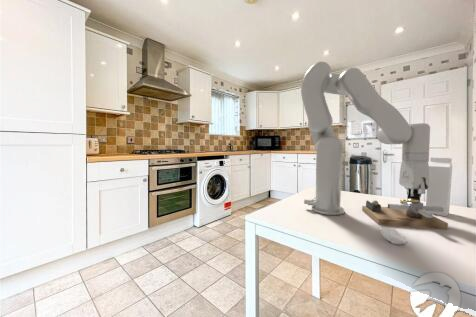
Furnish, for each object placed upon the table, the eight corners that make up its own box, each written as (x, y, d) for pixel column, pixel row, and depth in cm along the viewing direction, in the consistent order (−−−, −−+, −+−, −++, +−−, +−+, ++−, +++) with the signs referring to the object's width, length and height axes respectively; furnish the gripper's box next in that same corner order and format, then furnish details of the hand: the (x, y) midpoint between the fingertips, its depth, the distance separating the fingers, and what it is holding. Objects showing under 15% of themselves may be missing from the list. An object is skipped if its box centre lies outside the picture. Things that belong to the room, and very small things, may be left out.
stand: (378, 224, 71) (379, 207, 70) (362, 210, 85) (362, 196, 85) (447, 229, 67) (448, 211, 66) (417, 213, 81) (418, 198, 81)
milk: (446, 216, 78) (450, 158, 76) (425, 212, 83) (428, 157, 81) (449, 213, 81) (453, 157, 80) (428, 209, 86) (432, 157, 84)
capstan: (460, 227, 63) (461, 209, 62) (400, 223, 66) (400, 205, 66) (426, 210, 78) (427, 195, 78) (378, 208, 82) (379, 193, 81)
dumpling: (374, 238, 61) (375, 225, 61) (387, 235, 63) (388, 223, 62) (399, 250, 54) (400, 235, 54) (413, 246, 56) (414, 232, 56)
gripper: (392, 156, 84) (391, 200, 85) (415, 159, 69) (413, 212, 70) (414, 156, 82) (412, 201, 83) (442, 159, 67) (440, 213, 69)
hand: (413, 206), depth 77 cm, fingers closed
